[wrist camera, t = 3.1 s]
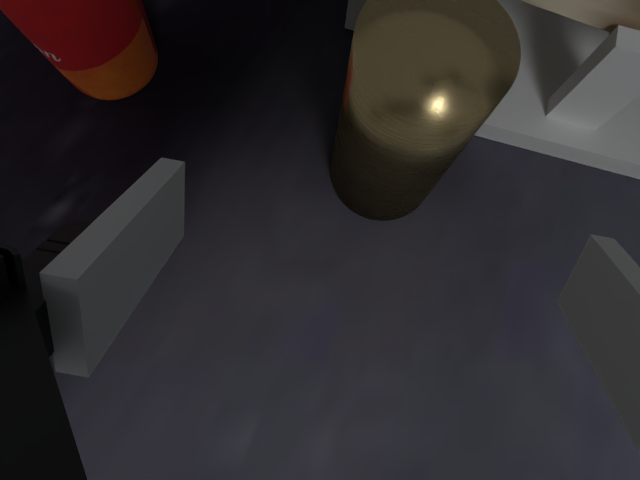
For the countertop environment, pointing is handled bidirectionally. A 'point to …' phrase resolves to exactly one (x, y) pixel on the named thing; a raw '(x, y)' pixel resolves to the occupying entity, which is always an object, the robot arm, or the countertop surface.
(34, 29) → the paper cup
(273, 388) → the countertop surface
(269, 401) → the countertop surface
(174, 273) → the countertop surface
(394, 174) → the olive round cylinder
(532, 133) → the seesaw stand
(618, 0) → the beam
